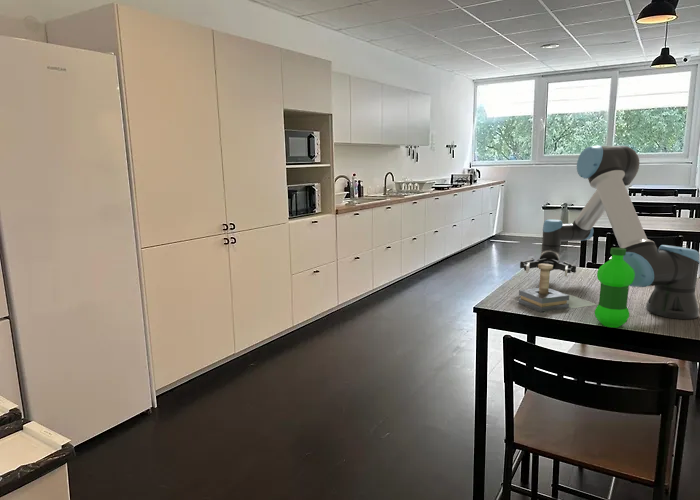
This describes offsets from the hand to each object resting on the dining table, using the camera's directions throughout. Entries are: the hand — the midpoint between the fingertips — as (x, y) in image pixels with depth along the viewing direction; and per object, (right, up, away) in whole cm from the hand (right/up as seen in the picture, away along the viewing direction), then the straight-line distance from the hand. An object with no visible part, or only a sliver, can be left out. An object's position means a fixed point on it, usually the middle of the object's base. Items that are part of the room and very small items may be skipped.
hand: (546, 271), depth 182 cm
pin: (-4, -12, -6) cm, 14 cm away
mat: (+9, -11, -1) cm, 14 cm away
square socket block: (-4, -12, -6) cm, 14 cm away
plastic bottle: (+10, -16, -26) cm, 32 cm away
